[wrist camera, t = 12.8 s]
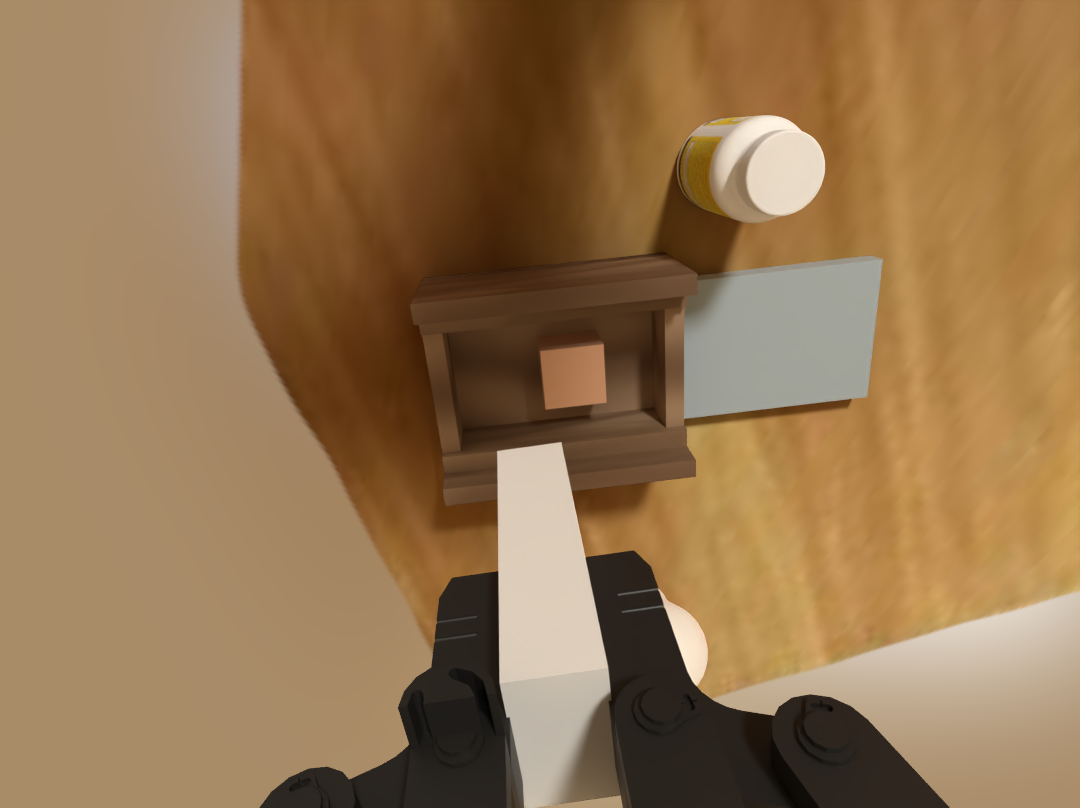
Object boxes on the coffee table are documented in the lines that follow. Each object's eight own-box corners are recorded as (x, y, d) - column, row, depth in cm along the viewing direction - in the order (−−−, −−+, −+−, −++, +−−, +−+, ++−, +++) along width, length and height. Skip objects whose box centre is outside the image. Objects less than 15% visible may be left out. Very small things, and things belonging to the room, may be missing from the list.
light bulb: (629, 533, 50) (664, 633, 40) (692, 569, 52) (741, 673, 41) (580, 590, 52) (602, 700, 41) (642, 623, 53) (678, 736, 43)
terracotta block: (536, 337, 42) (540, 351, 39) (596, 330, 42) (603, 344, 39) (542, 392, 43) (545, 409, 41) (599, 386, 43) (606, 402, 41)
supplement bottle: (704, 228, 41) (765, 253, 32) (658, 158, 39) (708, 164, 30) (775, 172, 40) (858, 182, 31) (731, 98, 38) (806, 85, 29)
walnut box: (422, 278, 41) (409, 304, 34) (665, 252, 41) (697, 273, 35) (451, 454, 46) (445, 506, 39) (667, 429, 46) (695, 476, 40)
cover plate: (663, 277, 42) (671, 283, 41) (865, 254, 43) (882, 259, 41) (666, 408, 46) (673, 420, 44) (852, 386, 47) (867, 396, 45)
